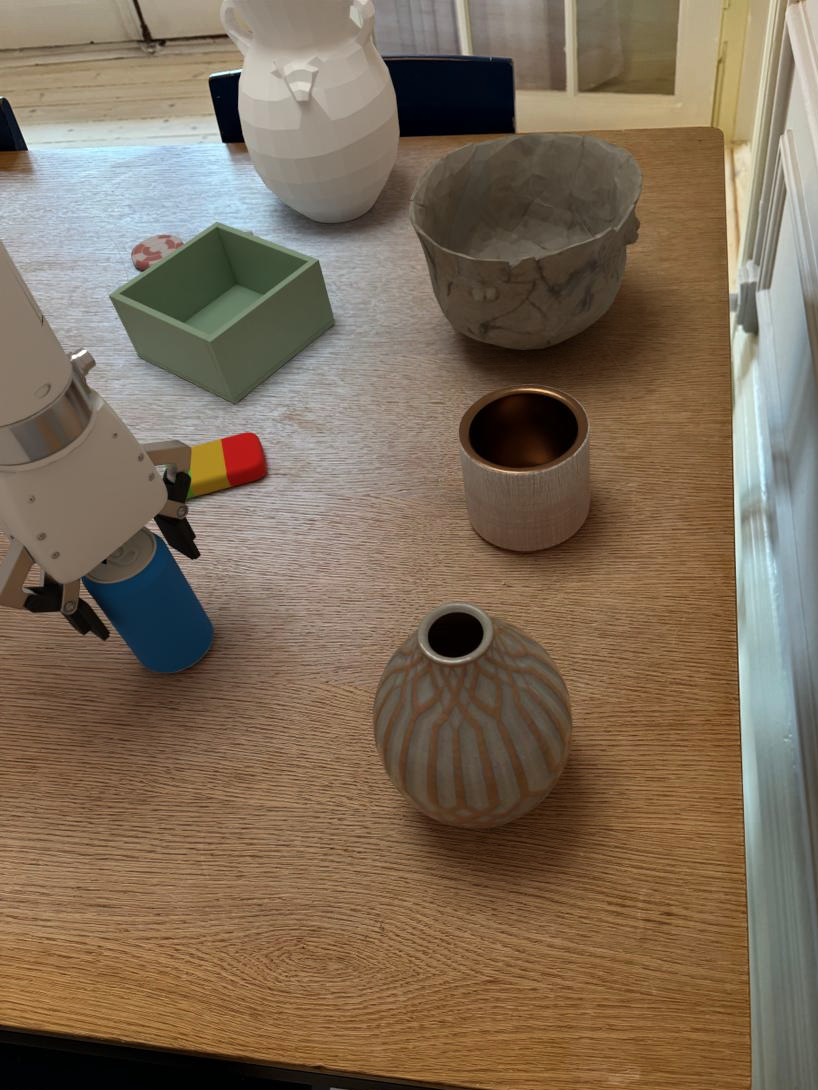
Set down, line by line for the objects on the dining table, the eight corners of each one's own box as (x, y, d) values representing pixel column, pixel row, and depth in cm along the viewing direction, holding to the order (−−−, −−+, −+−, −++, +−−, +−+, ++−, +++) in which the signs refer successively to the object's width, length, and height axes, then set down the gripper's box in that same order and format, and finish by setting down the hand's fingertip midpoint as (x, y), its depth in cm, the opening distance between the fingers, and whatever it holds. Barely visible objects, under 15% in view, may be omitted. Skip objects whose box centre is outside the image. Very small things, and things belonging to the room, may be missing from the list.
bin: (138, 356, 97) (108, 295, 91) (238, 283, 104) (216, 221, 97) (235, 404, 91) (210, 341, 85) (335, 323, 97) (319, 259, 91)
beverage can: (171, 605, 76) (111, 508, 66) (232, 628, 74) (179, 532, 64) (124, 663, 73) (53, 570, 63) (185, 689, 71) (122, 597, 61)
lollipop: (253, 242, 106) (129, 268, 105) (255, 251, 107) (133, 276, 106) (249, 215, 110) (130, 239, 109) (252, 223, 111) (133, 248, 110)
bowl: (449, 413, 87) (428, 274, 75) (413, 289, 100) (390, 153, 87) (664, 367, 88) (677, 223, 76) (602, 250, 101) (605, 110, 88)
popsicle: (270, 478, 84) (264, 464, 82) (113, 521, 83) (104, 507, 81) (262, 441, 87) (256, 427, 86) (111, 482, 86) (103, 467, 84)
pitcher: (427, 166, 115) (395, -69, 95) (388, 246, 105) (341, 2, 85) (295, 163, 119) (236, -64, 99) (245, 239, 109) (167, 5, 89)
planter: (571, 455, 82) (570, 370, 74) (605, 540, 76) (608, 457, 68) (457, 481, 81) (444, 398, 74) (482, 568, 75) (471, 488, 67)
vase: (380, 717, 68) (327, 572, 53) (545, 676, 68) (536, 522, 54) (411, 878, 60) (358, 760, 46) (596, 830, 61) (601, 698, 46)
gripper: (98, 315, 58) (192, 500, 72) (-135, 476, 51) (20, 646, 65) (172, 350, 55) (256, 536, 69) (-64, 527, 48) (83, 694, 62)
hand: (141, 589), depth 67 cm, fingers open, 8 cm apart
